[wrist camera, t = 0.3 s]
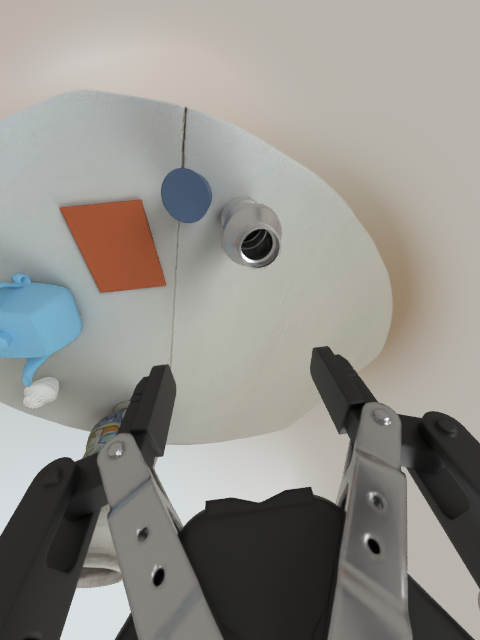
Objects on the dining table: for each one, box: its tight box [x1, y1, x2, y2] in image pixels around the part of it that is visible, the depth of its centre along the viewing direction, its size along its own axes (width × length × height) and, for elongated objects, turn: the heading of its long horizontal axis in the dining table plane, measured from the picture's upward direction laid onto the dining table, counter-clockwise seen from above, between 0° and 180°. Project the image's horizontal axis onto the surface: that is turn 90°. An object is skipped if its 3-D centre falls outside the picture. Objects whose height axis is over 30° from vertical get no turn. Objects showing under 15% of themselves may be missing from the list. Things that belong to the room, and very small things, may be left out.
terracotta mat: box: [60, 200, 166, 293], centre depth 36 cm, size 14×12×1 cm
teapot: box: [0, 273, 82, 387], centre depth 36 cm, size 12×18×12 cm
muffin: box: [23, 377, 59, 409], centre depth 47 cm, size 6×6×7 cm
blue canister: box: [161, 168, 212, 223], centre depth 29 cm, size 6×6×9 cm
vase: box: [76, 401, 158, 588], centre depth 47 cm, size 18×18×30 cm
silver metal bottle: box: [221, 196, 282, 269], centre depth 26 cm, size 6×7×20 cm
